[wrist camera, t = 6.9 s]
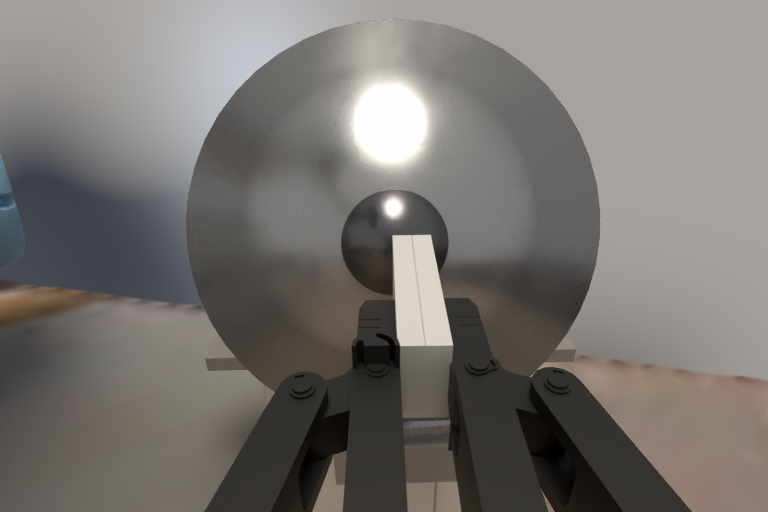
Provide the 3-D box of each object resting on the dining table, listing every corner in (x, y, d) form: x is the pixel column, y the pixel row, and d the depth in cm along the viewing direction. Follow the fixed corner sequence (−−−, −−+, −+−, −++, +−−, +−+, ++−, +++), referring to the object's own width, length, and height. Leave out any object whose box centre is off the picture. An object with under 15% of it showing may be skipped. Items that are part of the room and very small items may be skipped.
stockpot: (597, 567, 27) (646, 437, 22) (195, 580, 27) (145, 451, 22) (517, 363, 42) (535, 256, 37) (258, 370, 42) (237, 263, 37)
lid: (574, 421, 23) (588, 439, 21) (216, 431, 23) (205, 450, 21) (603, 22, 19) (622, 11, 18) (175, 30, 19) (158, 19, 17)
